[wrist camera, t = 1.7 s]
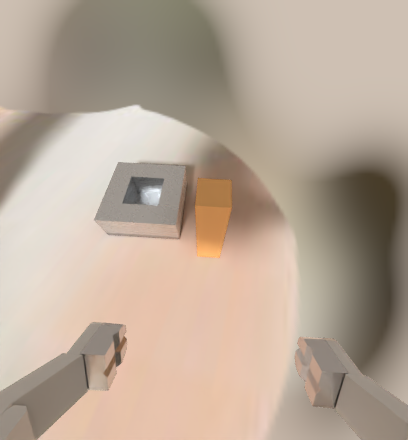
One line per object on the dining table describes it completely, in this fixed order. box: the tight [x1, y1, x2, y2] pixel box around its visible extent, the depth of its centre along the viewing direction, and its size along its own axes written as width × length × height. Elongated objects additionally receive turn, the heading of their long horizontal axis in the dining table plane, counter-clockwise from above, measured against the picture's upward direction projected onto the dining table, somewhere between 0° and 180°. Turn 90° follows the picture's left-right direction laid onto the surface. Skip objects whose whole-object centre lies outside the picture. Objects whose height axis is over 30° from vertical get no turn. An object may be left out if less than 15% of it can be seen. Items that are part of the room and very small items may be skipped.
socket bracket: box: [94, 162, 187, 239], centre depth 32 cm, size 12×12×5 cm
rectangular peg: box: [195, 178, 232, 258], centre depth 25 cm, size 4×4×14 cm
